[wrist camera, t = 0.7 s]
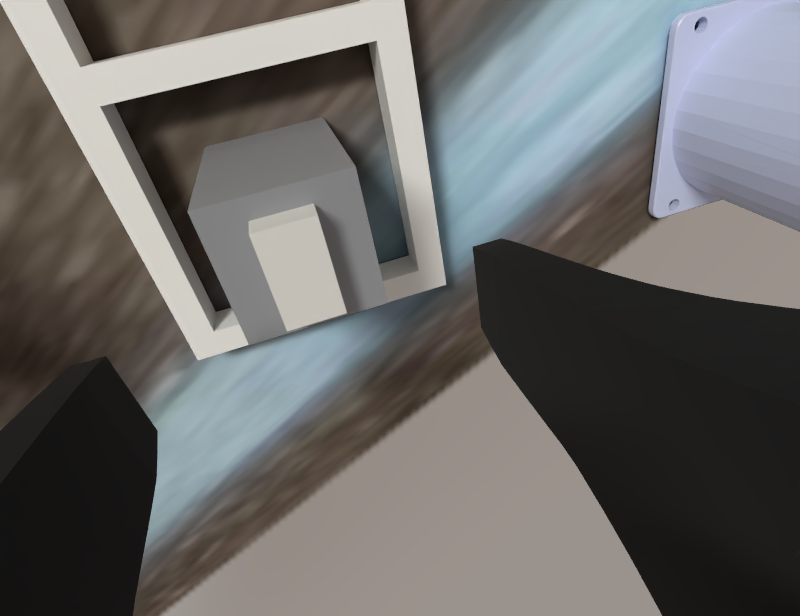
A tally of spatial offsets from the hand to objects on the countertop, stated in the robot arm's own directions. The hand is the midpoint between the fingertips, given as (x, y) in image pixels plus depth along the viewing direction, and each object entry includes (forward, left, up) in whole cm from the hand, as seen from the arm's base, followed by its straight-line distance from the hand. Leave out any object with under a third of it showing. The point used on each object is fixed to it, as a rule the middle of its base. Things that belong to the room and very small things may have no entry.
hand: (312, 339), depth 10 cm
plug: (0, 0, -10) cm, 10 cm away
